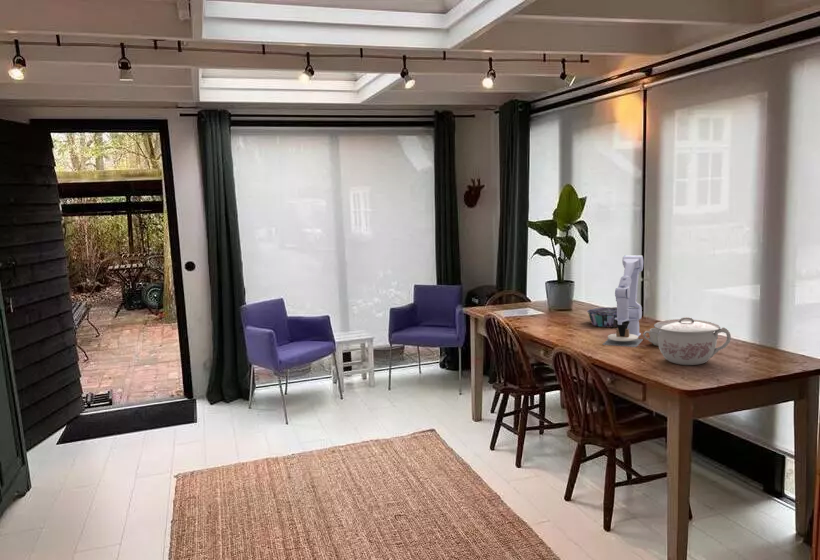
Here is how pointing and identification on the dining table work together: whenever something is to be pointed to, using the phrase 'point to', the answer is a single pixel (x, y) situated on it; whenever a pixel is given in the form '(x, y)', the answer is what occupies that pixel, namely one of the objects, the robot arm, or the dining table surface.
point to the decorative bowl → (603, 316)
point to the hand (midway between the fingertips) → (622, 335)
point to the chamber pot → (689, 340)
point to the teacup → (652, 335)
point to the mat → (623, 343)
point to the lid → (620, 338)
